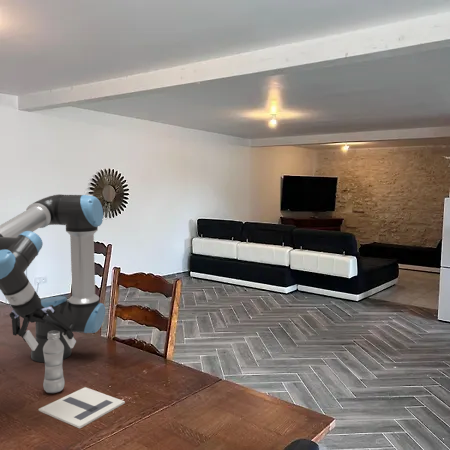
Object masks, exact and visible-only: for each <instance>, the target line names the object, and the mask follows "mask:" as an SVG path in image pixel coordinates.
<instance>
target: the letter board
mask: <svg viewBox="0 0 450 450" xmlns="http://www.w3.org/2000/svg"><path fill="white" fill-rule="evenodd" d="M124 404H126V402H125V401H124V400H122V399H120V398H117V397H114V396H111V395H108V394H107V393H106V394H105V393H103V392H100V391H97V390H95V389H91V388H90V387H86V386H84V387H82V388H80V389H78V390H76V391H74V392H72V393H70V394H67V395H65V396H63V397H61V398H59V399H57V400H55V401H53V402H49V403H48V404H46V405H43V406H42V407H40V408H38V412H40V413H43V414H45V415H47V416H50V417H52V418H54V419H55V420H59V421H61V422H63V423H66V424H68V425H71V426H73V427H75V428H78V429H79V430H81V428H83V427H85V426H87V425H89V424H91V423H93V422H94V421H96V420H98V419H99V418H101V417H103V416H105V415H106V414H108V413H110V412H112V411H113V410H115V409H117V408H119V407H121V406H122V405H124Z"/></svg>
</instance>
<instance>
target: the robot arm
mask: <svg viewBox="0 0 450 450" xmlns="http://www.w3.org/2000/svg"><path fill="white" fill-rule="evenodd" d="M103 221H104V210H103V206H102V203H101V200H99V198H98V197H96V196H94V195H86V194H53V195H49V196H47V197H43V198H41V199H39V200H37V201H34V202H32V203H31V204H29V205H28V206H27V207H26V210H25V211H22V212H21V213H20V214H17V215H16V216H14V217H12V218H11V219H8V220H7V221H5V222H3V223H1V224H0V292H1V293H2V294H3V296H4V297H5V299H6V301H7V302H8V303H9V304H10V306H11V308H12V310H11V312H10V313H9V316H10V319H11V327H12V328H11V329H12V330H11V331H12V335H13V336H17V335H18V336H19V337H21V338H22V339H23V341H24V342H25V343H27V346H29V348H30V349H31V350H30V359H31V360H32V361H35V362H38V363H45V360H44V354H43V347H44V345H45V343H46V342H47V341H48V339H47V337H48V332H50V331H59V332H60V338H59V339H60V341H61V342H62V343H63V345H64V353H63V360H64V359H65V360H66V359H68V358H69V357H71V355H72V349H74V347H75V345H76V343H77V340H76V338H74V336H75V335H74V333H81V334H82V333H83V334H94V333H97V332H98V331H99V330H100V328H101V327H102V325H103V323H104V320H105V316H106V306H105V304H104V303H102V302H100V296H98V295H97V294H96V279H95V277H96V274H95V241H94V240H95V239H94V238H95V237H94V235H95V234H96V233H97V232H98V227H101V225H102V224H103ZM51 225H53V226H55V225H56V226H57V225H58V226H65V232H66V233H68V235H69V236H70V265H71V267H70V272H71V296H70V297H69V298H67V296H62V295H61V296H60V295H59V296H58V295H57V296H53V297H51V296H50V297H46V298H42V299H41V297H40V296H39V294H38V293H37V291H36V290H35V288H34V286H33V285H32V283H31V281H30V280H29V277H27V275H26V273H25V271H26V270H27V269H28V268H29V266H30V265H31V264H32V263H33V261H34V260H35V258H36V257H38V255H39V252H40V251H41V250H42V248H43V244H44V243H43V240H42V238H41V237H40V235H38V234H37V233H35V231H36V230H38V229H44V228H46V227H48V226H51ZM21 318H22V319H23V321H22V323H21ZM30 323H31V324H32V323H35V336H34V335H33V333H32V332H31V330H29V329H28V326H29V324H30ZM21 324H22V325H21Z"/></svg>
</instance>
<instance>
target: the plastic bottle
mask: <svg viewBox="0 0 450 450" xmlns="http://www.w3.org/2000/svg"><path fill="white" fill-rule="evenodd" d="M59 338H60V332H59V331H50V332H48V337H47V339H48V341H47V342H46V343H45V345H44V347H43V354H44V360H45V362H44V378H43V384H42V385H43V390H44V392H46V393H47V394H56V393H60V392H61V391H63V389H64V387H65V377H64V371H63V369H64V368H63V361H64V359H63V353H64V345H63V343H62V342H61V341H60V339H59Z"/></svg>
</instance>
